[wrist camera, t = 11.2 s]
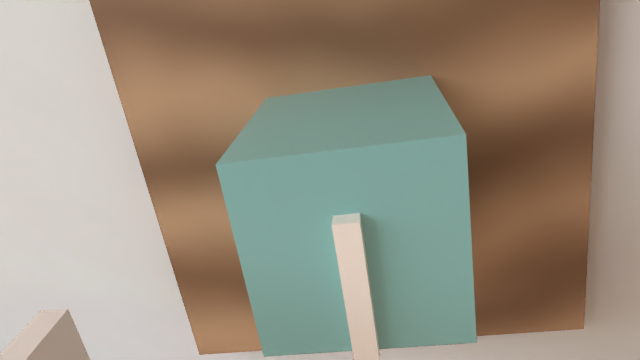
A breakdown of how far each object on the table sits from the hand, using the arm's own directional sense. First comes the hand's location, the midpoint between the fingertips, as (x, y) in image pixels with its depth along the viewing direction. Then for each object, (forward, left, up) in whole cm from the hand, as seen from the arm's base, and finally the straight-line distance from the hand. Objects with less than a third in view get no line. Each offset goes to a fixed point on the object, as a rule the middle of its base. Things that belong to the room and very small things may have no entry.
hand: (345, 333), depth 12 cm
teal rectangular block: (0, 0, -12) cm, 12 cm away
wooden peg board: (0, 0, -13) cm, 13 cm away
